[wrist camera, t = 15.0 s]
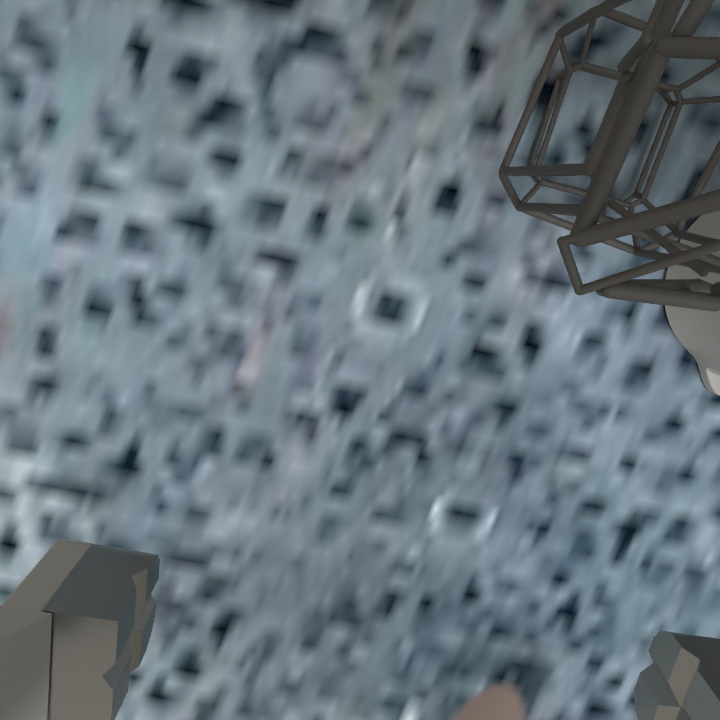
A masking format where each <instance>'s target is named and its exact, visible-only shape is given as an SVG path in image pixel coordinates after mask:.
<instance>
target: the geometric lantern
mask: <svg viewBox="0 0 720 720" xmlns="http://www.w3.org/2000/svg"><path fill="white" fill-rule="evenodd" d="M629 1H631V0H606V1H605V2H603V3H601V4H600V5H598V6H596V7H593V8H591V9H589V10H588V11H586V12H585V13H583V14H581V15H580V16H578V17H576V18H575V19H573V20H572V21H570V22H568V23H567V24H565V25H564V26H563V27H561V28H560V29H559V30H558V31H557V32H556V34H555V38H554V40H553V43H552V45H551V47H550V50H549V52H548V55H547V57H546V59H545V62H544V64H543V67H542V69H541V71H540V74H539V76H538V78H537V81H536V83H535V86H534V88H533V90H532V93H531V95H530V98H529V100H528V102H527V105H526V107H525V109H524V112H523V114H522V117H521V119H520V121H519V124H518V126H517V128H516V131H515V133H514V136H513V138H512V140H511V143H510V145H509V148H508V150H507V152H506V155H505V157H504V159H503V162H502V164H501V167H500V169H499V177H500V179H501V182H502V184H503V186H504V188H505V190H506V192H507V194H508V195H509V197H510V199H511V201H512V203H513V205H514V207H515V208H516V210H517V211H521V212H523V213H526V214H528V215H531V216H534V217H536V218H539V219H542V220H544V221H547V222H549V223H552V224H555V225H557V226H560V227H563V228H565V229H568V230H570V231H571V232H570V235H567V236H564V237H563V236H562V237H559V238H558V240H557V243H558V246H559V249H560V252H561V255H562V257H563V260H564V263H565V266H566V268H567V271H568V274H569V277H570V280H571V282H572V285H573V288H574V291H575V293H576V294H577V295H583V294H587V293H590V292H593V291H596V292H597V293H598V295H600V296H604V297H606V298H612V299H620V300H627V301H635V302H643V303H651V304H659V305H667V306H674V307H682V308H690V309H698V310H706V311H713V312H714V311H720V282H716V283H714V284H711V283H709V282H706V281H704V280H701V279H633V278H636V277H639V276H642V275H645V274H649V273H652V272H655V271H658V270H661V269H664V268H667V267H670V266H673V265H680V266H685V267H690V268H691V269H692V270H694V271H695V272H696V273H698V274H699V275H700V276H702V277H705V276H707V275H708V273H709V272H713V273H718V274H720V257H718V256H715V255H712V254H711V253H714V252H717V251H720V239H719V240H718V239H714V238H710V237H706V236H702V235H698V234H694V233H690V232H686V231H683V230H682V229H683V227H684V225H685V223H686V221H687V220H688V219H690V218H694V217H697V216H701V215H705V214H709V213H712V212H716V211H720V190H716V191H713V192H709V193H706V194H702V195H701V193H702V191H703V189H704V187H705V185H706V183H707V181H708V180H709V178H710V176H711V174H712V172H713V170H714V168H715V166H716V164H717V162H718V161H719V159H720V140H719V142H718V144H717V146H716V148H715V150H714V152H713V154H712V155H711V157H710V159H709V161H708V163H707V165H706V167H705V169H704V171H703V173H702V175H701V177H700V179H699V180H698V182H697V184H696V186H695V188H694V190H693V192H692V194H691V196H690V198H688V199H685V200H681V201H678V202H674V203H671V204H667V205H664V206H660V207H657V208H655V207H654V206H653V205H652V204H651V203H650V202H649V201H648V200H646V199H647V196H648V193H649V191H650V188H651V186H652V183H653V180H654V178H655V175H656V173H657V170H658V167H659V165H660V162H661V160H662V157H663V154H664V152H665V149H666V147H667V144H668V141H669V139H670V136H671V134H672V131H673V128H674V126H675V123H676V120H677V118H678V115H679V113H680V110H681V107H682V105H685V104H699V103H713V102H720V96H714V97H701V98H688V99H683V97H682V94H681V90H683V89H685V88H686V87H688V86H689V85H691V84H693V83H694V82H696V81H698V80H699V79H701V78H703V77H704V76H706V75H708V74H709V73H711V72H713V71H714V70H716V69H717V68H719V67H720V37H692V35H693V33H694V32H695V30H696V29H697V27H698V26H699V24H700V22H701V21H702V19H703V18H704V16H705V14H706V13H707V11H708V10H709V8H710V7H711V5H712V3H713V2H714V0H691V2H690V3H689V5H688V7H687V8H686V10H685V11H684V13H683V15H682V16H681V18H680V20H679V21H678V23H677V24H676V26H675V28H674V29H673V32H671V29H672V27H673V25H674V22H675V20H676V18H677V16H678V13H679V11H680V9H681V7H682V4H683V2H684V0H657V2H656V4H655V6H654V8H653V11H652V13H651V15H650V17H649V19H648V22H645V21H642V20H640V19H637V18H635V17H632V16H630V15H627V14H625V13H622V12H619V11H617V10H614V8H616V7H618V6H620V5H622V4H624V3H627V2H629ZM600 16H604V17H606V18H609V19H612V20H614V21H617V22H619V23H622V24H624V25H627V26H629V27H632V28H635V29H637V30H640V31H642V32H643V33H642V35H641V37H640V39H639V40H638V41H637V42H636V43H635V45H634V46H633V47H632V48H631V49H630V51H629V52H628V53H627V54H626V55H625V56H624V58H623V59H622V60H621V61H620V62H619V64H618V66H617V68H618V71H616V70H612V69H608V68H604V67H601V66H597V65H593V64H589V63H585V59H586V56H587V52H588V48H589V44H590V41H591V37H592V33H593V30H594V26H595V22H596V19H597V18H599V17H600ZM588 23H589V26H588V30H587V34H586V38H585V42H584V45H583V49H582V53H581V57H580V61H579V63H575V64H574V63H572V64H571V63H570V60H569V57H568V53H567V50H566V47H565V44H564V40H563V38H564V37H565V36H567V35H568V34H570V33H572V32H574V31H576V30H577V29H579V28H581V27H583V26H584V25H586V24H588ZM559 48H560V52H561V55H562V58H563V61H564V64H565V67H566V69H565V70H564V71H563V72H562V73H561V74H560V75H558V76H557V78H556V82H555V85H554V89H553V92H552V95H551V98H550V101H549V104H548V107H547V110H546V113H545V116H544V119H543V122H542V125H541V128H540V131H539V134H538V137H537V140H536V143H535V146H534V149H533V152H532V155H531V158H530V161H529V164H528V166H519V167H509V165H510V163H511V161H512V158H513V156H514V154H515V151H516V149H517V147H518V144H519V142H520V140H521V137H522V135H523V133H524V130H525V128H526V125H527V123H528V121H529V118H530V116H531V114H532V111H533V109H534V107H535V104H536V102H537V100H538V97H539V95H540V92H541V90H542V88H543V85H544V83H545V81H546V78H547V76H548V74H549V71H550V69H551V67H552V64H553V62H554V59H555V57H556V55H557V52H558V50H559ZM669 58H686V59H714V60H716V61H718V62H716V63H715V64H713V65H711V66H710V67H708V68H706V69H705V70H703V71H702V72H700V73H698V74H697V75H695V76H693V77H692V78H690V79H689V80H687V81H685V82H684V83H682V84H681V85H679V86H676V85H670V84H667V83H663V82H659V81H660V79H661V76H662V74H663V72H664V70H665V67H666V65H667V63H668V60H669ZM577 70H581V71H585V72H588V73H592V74H596V75H599V76H603V77H607V78H610V79H614V80H617V81H618V83H617V86H616V88H615V91H614V93H613V96H612V98H611V101H610V103H609V106H608V108H607V111H606V113H605V116H604V118H603V121H602V123H601V126H600V128H599V130H598V133H597V135H596V137H595V139H594V142H593V144H592V146H591V148H590V150H589V153H588V155H587V157H586V159H585V162H584V164H560V165H541V164H542V161H543V158H544V155H545V152H546V149H547V146H548V143H549V140H550V137H551V134H552V131H553V128H554V125H555V122H556V119H557V116H558V113H559V110H560V107H561V104H562V101H563V98H564V95H565V92H566V89H567V86H568V83H569V80H570V77H571V74H572V73H573V72H575V71H577ZM563 80H564V81H563ZM561 81H563V84H562V87H561V90H560V93H559V96H558V99H557V102H556V105H555V108H554V111H553V114H552V117H551V120H550V123H549V126H548V129H547V133H546V136H545V139H544V142H543V145H542V148H541V151H540V154H539V157H538V160H537V163H536V166H533V165H534V162H535V159H536V156H537V153H538V150H539V147H540V144H541V141H542V138H543V135H544V132H545V129H546V126H547V123H548V120H549V117H550V114H551V111H552V108H553V105H554V102H555V99H556V96H557V93H558V90H559V87H560V84H561ZM655 91H657V92H660V94H661V95H662V97H663V98H664V100H665V101H666V102H667V104H668V105H667V108H666V110H665V113H664V116H663V118H662V121H661V123H660V126H659V129H658V131H657V134H656V136H655V139H654V142H653V144H652V147H651V149H650V152H649V155H648V157H647V160H646V162H645V165H644V168H643V170H642V173H641V175H640V178H639V181H638V183H637V186H636V188H635V191H634V193H633V194H631V195H630V196H629V197H627V198H626V199H625V200H624V201H622V200H618V199H614V198H610V197H609V195H610V193H611V190H612V188H613V186H614V183H615V181H616V179H617V177H618V174H619V172H620V170H621V168H622V165H623V163H624V161H625V158H626V156H627V154H628V152H629V149H630V147H631V145H632V142H633V140H634V138H635V136H636V133H637V131H638V129H639V127H640V124H641V122H642V120H643V117H644V115H645V113H646V111H647V108H648V106H649V104H650V101H651V99H652V97H653V95H654V92H655ZM672 91H673V92H674V94H675V97H676V100H677V101H673V100H672V99H671V97H670V96H669V95H668V92H672ZM675 106H676V108H675V110H674V113H673V115H672V118H671V121H670V123H669V126H668V129H667V131H666V134H665V136H664V139H663V142H662V144H661V147H660V150H659V152H658V155H657V157H656V160H655V163H654V165H653V168H652V170H651V173H650V176H649V178H648V181H647V184H646V186H645V189H644V191H643V194H641V193H639V192H640V190H641V187H642V184H643V182H644V179H645V177H646V174H647V171H648V169H649V166H650V164H651V161H652V159H653V156H654V153H655V151H656V148H657V146H658V143H659V141H660V138H661V135H662V133H663V130H664V128H665V125H666V122H667V120H668V117H669V115H670V112H671V110H672V107H675ZM577 175H586V176H590V178H591V182H590V184H589V187H588V189H587V191H584V190H580V189H576V188H572V187H569V186H565V185H561V184H557V183H553V182H549V181H546V180H543V178H542V176H577ZM508 176H532V178H533V179H534V180H535V181H536V183H537V184H536V185H535V186H534V187H533V188H532V189H531V190H530V191H529V192H528V194H527V195H526V196H525V197H524V198H523V199H522V200H521V201H520V199H519V198H518V196H517V194H516V192H515V190H514V188H513V186H512V184H511V182H510V180H509V178H508ZM541 186H546V187H550V188H553V189H557V190H560V191H564V192H568V193H571V194H575V195H579V196H582V197H584V199H583V202H582V204H581V205H578V204H548V203H527V201H528V200H529V199H530V198H531V197H532V196H533V195H534V194H535V192H536V191H537V190H538V189H539V188H540V187H541ZM634 198H639V199H637V200H635V201H633V202H631V203H630V201H631V200H633V199H634ZM606 203H607V205H608V206H609V207H610V208H612V209H613V210H614V211H616V212H617V213H618V214H620V215H621V216H622V217H621V218H618V219H614V218H612V217H609V216H606V215H605V214H606ZM641 203H642V204H643V205H644V206H646V207H647V208H648V209H649V210H646V211H643V212H639V213H634V207H635V206H637V205H639V204H641ZM624 207H628V210H626V209H625V208H624ZM548 213H550V214H548ZM551 214H560V215H570V216H577V217H576V220H575V222H574V223H572V222H569V221H566V220H564V219H561V218H558V217H556V216H553V215H551ZM597 222H598V223H600V224H597ZM675 222H677V223H676V225H674V224H672V223H675ZM596 224H597V225H596ZM664 225H666V226H667V227H668V228H669V229H670V230H671V231H672V232H670V233H668V234H667V235H665V236H661V235H660V234H659V233H657V232H656V231H655V230H653V229H652V228H656V227H660V226H664ZM630 234H631V235H632V237H633V244H634V246H632V245H629V244H627V243H624V242H621V241H619V240H616V239H615V238H619V237H622V236H626V235H630ZM638 237H639V238H642V239H645V240H647V241H650V243H648V244H646V245H644V246H642V247H640V244H639V238H638ZM677 237H678V238H681V239H684V240H687V241H690V242H694V243H697V244H701V246H698V247H695V248H693V247H690V246H688V245H685V244H682V243H680V242H677V241H674V240H673V239H675V238H677ZM600 242H602V243H605V244H607V245H610V246H613V247H615V248H618V249H620V250H623V251H626V252H628V253H631V254H634V255H636V256H639V257H644V258H648V259H653V260H656V261H653V262H650V263H647V264H644V265H641V266H638V267H635V268H632V269H629V270H626V271H623V272H620V273H617V274H614V275H611V276H608V277H605V278H602V279H599V280H596V281H593V282H590V283H587V284H584V285H583V284H582V281H581V278H580V275H579V272H578V269H577V267H576V264H575V261H574V258H573V255H572V253H571V250H570V247H569V245H571V244H574V245H575V246H577V247H585V246H588V245H592V244H596V243H600ZM659 246H662V247H663V248H665V249H666V250H667V251H668V252H670V253H671V254H666V253H661V252H655V251H651V250H653V249H655V248H657V247H659ZM695 258H696V259H695Z"/></svg>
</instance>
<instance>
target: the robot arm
mask: <svg viewBox="0 0 720 720" xmlns="http://www.w3.org/2000/svg"><path fill="white" fill-rule="evenodd" d="M686 232H690V233H694V234H698V235H702V236H706V237H710V238H714V239H718V240H719V239H720V211H716V212H712V213H709V214H705V215H701V216H700V217H699V218H698V219H697V220H696V221H695V222H694V223H693V224H692V225H691V226H690V228H689V229H688V230H687V231H686ZM680 243H682V244H685V245H688V246H690V247H693V248H695V247H698V246H701V244H697V243H694V242H690V241H687V240H684V239H681V240H680ZM711 254H712V255H715V256H718V257H720V251H717V252H714V253H711ZM695 259H696V258H695ZM665 279H701V280H704V281H706V282H709V283H711V284H714V283H716V282H720V274H718V273H713V272H709V273H708V275H707V276H705V277H702V276H700V275H699V274H698V273H696V272H695V271H694V270H692V269H691V268H690V267H685V266H680V265H673V266H670V267H668V270H667V274H666V278H665ZM665 310H666V314H667V318H668V321H669V324H670V326H671V328H672V331H673V332H674V334H675V336H676V337H677V339H678V340H679V342H680V343H681V344H682V345H683V346H684V347H685V348H686V349H687V351H688V352H689V353H690V354H691V355H692V356H693V357H694V359H695V360H696V362H697V364H698V368H699V371H700V375H701V378H702V381H703V383H704V385H705V387H706V389H707V390H708V391H710V392H712V393H714V394H717V395H720V311H714V312H713V311H706V310H698V309H690V308H682V307H674V306H667V305H665ZM159 565H160V559H159V556H158V555H157V554H151V553H145V552H139V551H134V550H128V549H122V548H116V547H110V546H105V545H99V544H95V545H94V544H92V543H86V542H79V541H73V540H66V539H63V540H60V541H57V542H56V543H55V544H54V545H53V546H52V547H51V548H50V550H49V551H48V552H47V553H46V554H45V555H44V557H43V558H42V559H41V560H40V561H39V562H38V564H37V565H36V566H35V567H34V568H33V569H32V571H31V572H30V573H29V574H28V575H27V576H26V578H25V579H24V580H23V581H22V582H21V583H20V585H19V586H18V587H17V588H16V589H15V590H14V592H13V593H12V594H11V595H10V596H9V598H8V599H7V600H6V601H5V602H4V603H3V605H2V606H0V720H115V718H116V716H117V713H118V711H119V709H120V707H121V705H122V703H123V700H124V698H125V696H126V694H127V692H128V685H129V675H130V672H131V671H133V670H135V669H136V668H138V667H139V665H140V663H141V661H142V658H143V656H144V654H145V652H146V649H147V645H148V642H149V639H150V636H151V632H152V628H153V622H154V617H155V609H156V601H155V600H154V598H153V597H152V595H151V593H152V591H153V588H154V586H155V584H156V582H157V580H158V578H159ZM648 651H649V653H650V656H651V658H652V661H653V663H652V664H651V665H650V666H648V667H647V668H646V669H644V670H643V671H642V672H640V675H639V678H638V681H637V684H636V687H635V711H636V714H637V718H638V720H720V639H717V638H710V637H703V636H696V635H689V634H682V633H675V632H668V631H660V632H659V633H658V634H657V635H656V636H655V637H654V638H653V640H652V643H651V645H650V648H649V650H648Z"/></svg>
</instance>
